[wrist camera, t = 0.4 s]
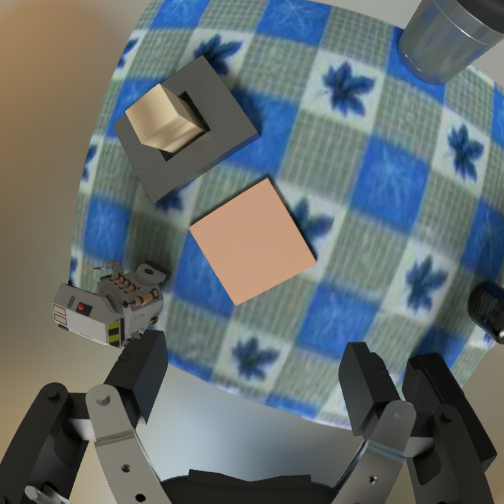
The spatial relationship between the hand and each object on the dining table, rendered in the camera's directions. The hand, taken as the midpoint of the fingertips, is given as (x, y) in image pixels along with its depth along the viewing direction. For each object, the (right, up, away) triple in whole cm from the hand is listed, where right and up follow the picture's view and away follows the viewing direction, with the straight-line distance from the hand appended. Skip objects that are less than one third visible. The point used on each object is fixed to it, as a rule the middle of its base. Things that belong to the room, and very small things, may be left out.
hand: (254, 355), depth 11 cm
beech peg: (-9, +21, +22) cm, 32 cm away
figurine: (-17, -1, +28) cm, 33 cm away
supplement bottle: (+35, -3, +19) cm, 40 cm away
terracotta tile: (0, +5, +24) cm, 24 cm away
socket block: (-9, +21, +22) cm, 32 cm away
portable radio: (+27, -15, +23) cm, 38 cm away
